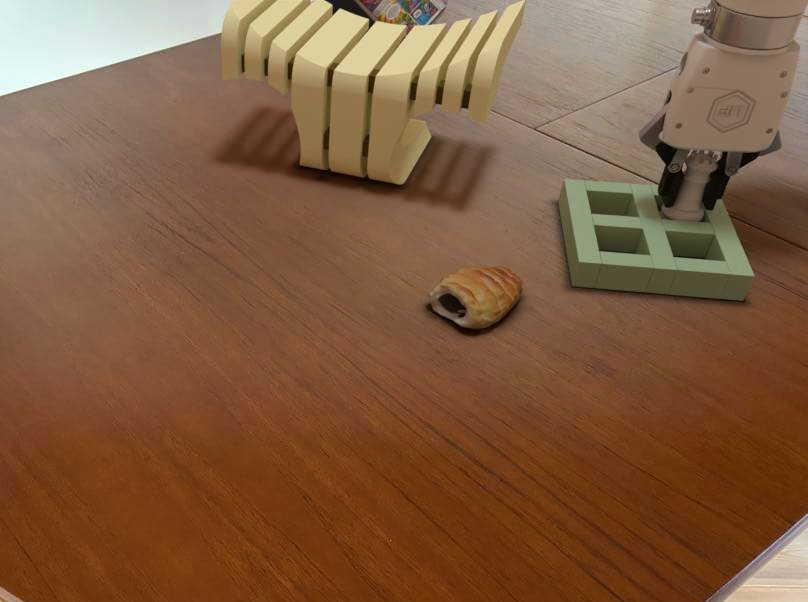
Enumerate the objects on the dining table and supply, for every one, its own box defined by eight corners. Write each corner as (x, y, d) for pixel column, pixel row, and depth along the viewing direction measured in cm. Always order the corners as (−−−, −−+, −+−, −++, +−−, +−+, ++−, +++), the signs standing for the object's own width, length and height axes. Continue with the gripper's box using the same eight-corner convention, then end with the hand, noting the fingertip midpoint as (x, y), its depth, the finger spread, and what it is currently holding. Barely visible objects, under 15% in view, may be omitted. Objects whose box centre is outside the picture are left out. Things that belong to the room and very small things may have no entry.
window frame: (708, 213, 96) (717, 189, 94) (743, 301, 84) (755, 276, 82) (557, 202, 98) (564, 178, 96) (571, 286, 86) (578, 261, 84)
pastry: (485, 271, 88) (492, 240, 85) (538, 303, 84) (546, 271, 82) (421, 306, 84) (426, 274, 81) (473, 341, 80) (480, 309, 77)
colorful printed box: (432, -4, 133) (384, -112, 121) (501, 41, 117) (454, -77, 105) (325, 79, 136) (268, -18, 124) (379, 133, 121) (319, 29, 109)
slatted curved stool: (226, 162, 105) (219, 11, 93) (275, 109, 116) (275, -34, 103) (468, 210, 97) (496, 51, 84) (497, 148, 107) (526, -2, 95)
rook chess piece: (655, 229, 91) (680, 160, 86) (657, 208, 94) (682, 140, 89) (699, 237, 90) (728, 168, 85) (700, 216, 93) (728, 148, 88)
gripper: (663, 35, 76) (609, 215, 89) (862, 44, 74) (778, 227, 87) (650, 5, 82) (601, 179, 94) (835, 12, 80) (759, 189, 92)
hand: (686, 200), depth 91 cm, fingers closed on rook chess piece, 3 cm apart
